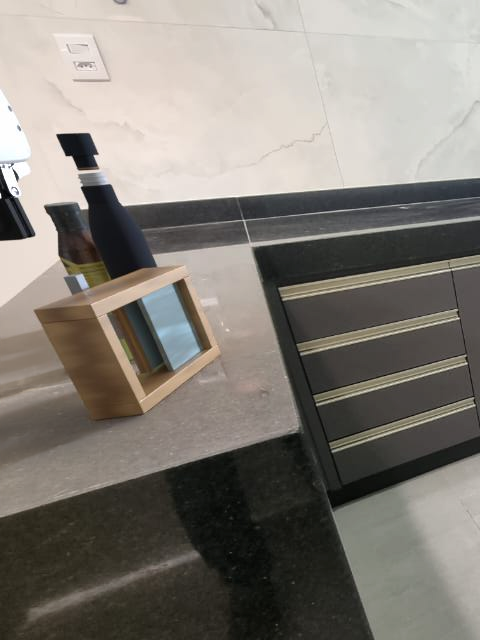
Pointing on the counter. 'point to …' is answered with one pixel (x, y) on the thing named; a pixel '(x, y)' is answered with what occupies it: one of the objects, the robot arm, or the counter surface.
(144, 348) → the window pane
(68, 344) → the window frame
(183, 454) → the counter surface
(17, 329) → the counter surface
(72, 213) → the sauce bottle
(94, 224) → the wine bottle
